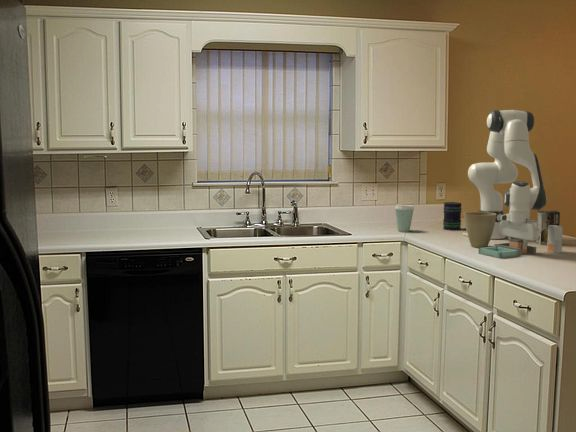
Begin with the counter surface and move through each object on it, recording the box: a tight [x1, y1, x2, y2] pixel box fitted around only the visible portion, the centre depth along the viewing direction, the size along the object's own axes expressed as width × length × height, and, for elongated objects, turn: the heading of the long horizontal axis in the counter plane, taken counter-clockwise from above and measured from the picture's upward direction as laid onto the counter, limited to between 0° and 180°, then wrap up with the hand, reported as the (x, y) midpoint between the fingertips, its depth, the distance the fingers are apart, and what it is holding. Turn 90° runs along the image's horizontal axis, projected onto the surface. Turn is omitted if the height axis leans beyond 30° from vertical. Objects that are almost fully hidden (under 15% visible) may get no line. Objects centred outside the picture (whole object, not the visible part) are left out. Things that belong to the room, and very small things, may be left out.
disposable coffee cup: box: [394, 203, 415, 233], centre depth 370 cm, size 11×11×15 cm
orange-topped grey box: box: [508, 238, 528, 255], centre depth 302 cm, size 5×6×6 cm
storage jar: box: [442, 201, 462, 232], centre depth 378 cm, size 10×10×15 cm
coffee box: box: [535, 210, 561, 246], centre depth 327 cm, size 9×6×16 cm
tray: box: [478, 246, 519, 259], centre depth 297 cm, size 13×11×2 cm
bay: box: [493, 242, 537, 257], centre depth 304 cm, size 15×11×3 cm
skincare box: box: [546, 225, 564, 254], centre depth 304 cm, size 6×4×12 cm
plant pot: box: [463, 211, 496, 249], centre depth 318 cm, size 15×15×16 cm
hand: (518, 248), depth 302 cm, fingers closed on orange-topped grey box, 5 cm apart
